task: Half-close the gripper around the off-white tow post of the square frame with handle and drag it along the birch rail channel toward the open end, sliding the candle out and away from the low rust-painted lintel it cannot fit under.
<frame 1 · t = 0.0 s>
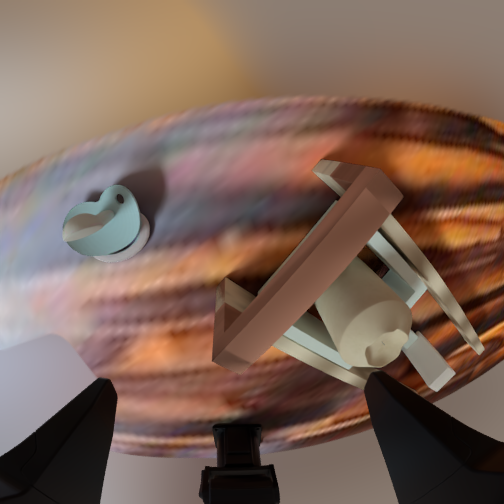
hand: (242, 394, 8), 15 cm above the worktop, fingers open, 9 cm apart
pacifier: (114, 224, 21), on the worktop
channel: (335, 278, 23), on the worktop
square frame with handle: (390, 330, 22), point 4 cm above the worktop, slide at 0.0 cm
candle: (334, 277, 24), resting in square frame with handle
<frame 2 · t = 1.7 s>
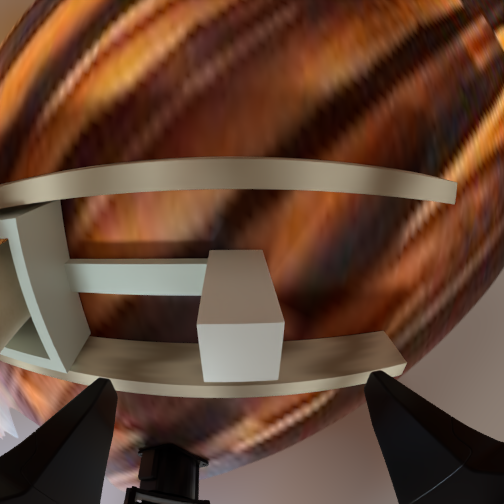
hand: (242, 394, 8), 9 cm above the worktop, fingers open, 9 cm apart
channel: (26, 270, 15), on the worktop
square frame with handle: (62, 300, 12), point 4 cm above the worktop, slide at 0.0 cm
candle: (28, 268, 15), resting in square frame with handle
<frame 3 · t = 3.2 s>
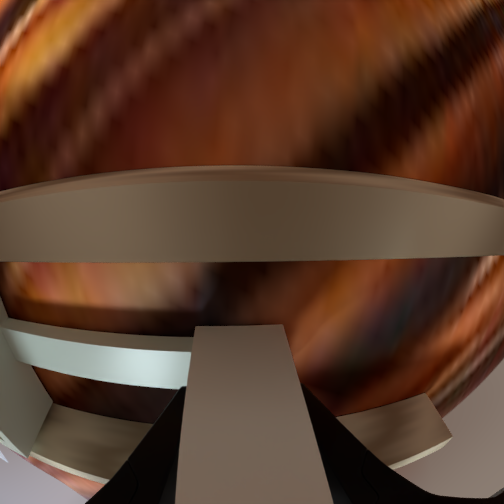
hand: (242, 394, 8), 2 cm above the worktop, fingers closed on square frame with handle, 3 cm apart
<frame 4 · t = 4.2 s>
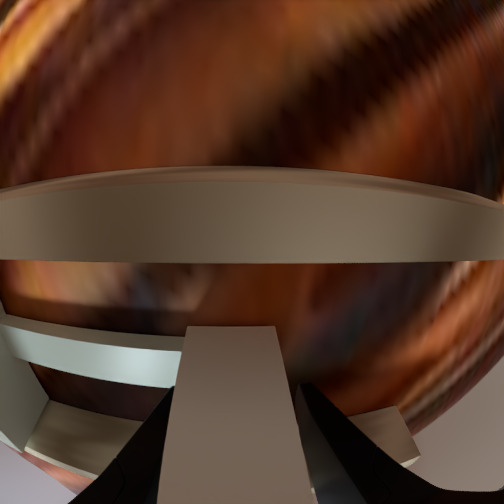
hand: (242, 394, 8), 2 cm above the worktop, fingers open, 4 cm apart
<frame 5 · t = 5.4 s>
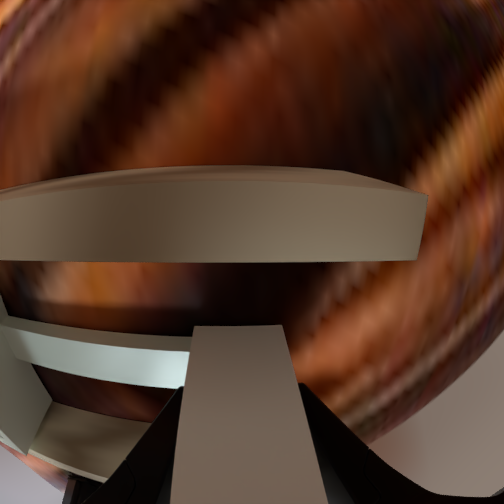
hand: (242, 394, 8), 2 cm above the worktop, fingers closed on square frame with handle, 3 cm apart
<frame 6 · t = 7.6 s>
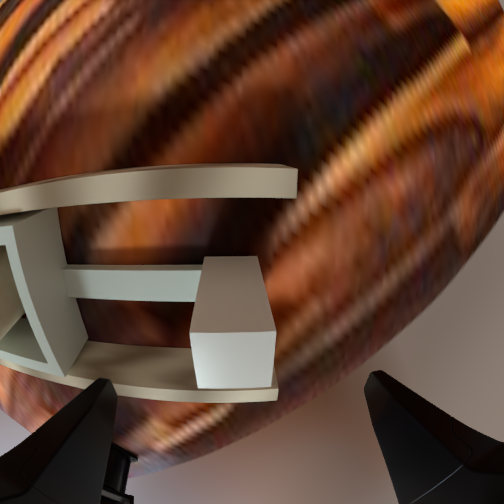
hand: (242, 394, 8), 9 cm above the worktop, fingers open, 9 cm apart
square frame with handle: (59, 305, 12), point 4 cm above the worktop, slide at 8.9 cm
candle: (17, 273, 15), resting in square frame with handle
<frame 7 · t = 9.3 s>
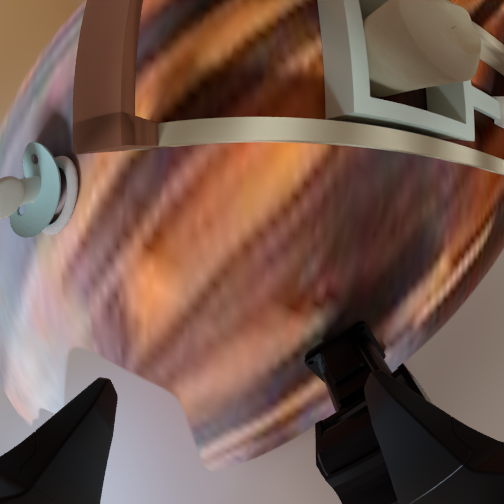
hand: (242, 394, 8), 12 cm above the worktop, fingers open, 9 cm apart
pacifier: (52, 190, 16), on the worktop
channel: (265, 49, 14), on the worktop
square frame with handle: (470, 81, 12), point 4 cm above the worktop, slide at 8.9 cm
candle: (368, 64, 15), resting in square frame with handle
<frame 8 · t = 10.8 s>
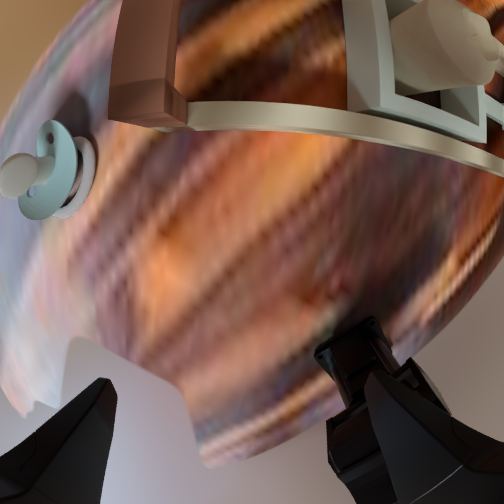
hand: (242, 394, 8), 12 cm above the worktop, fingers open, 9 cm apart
pacifier: (65, 172, 16), on the worktop
channel: (291, 42, 14), on the worktop
square frame with handle: (483, 87, 12), point 4 cm above the worktop, slide at 8.9 cm
candle: (387, 64, 15), resting in square frame with handle
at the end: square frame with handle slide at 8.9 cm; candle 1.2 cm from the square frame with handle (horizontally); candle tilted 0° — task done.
